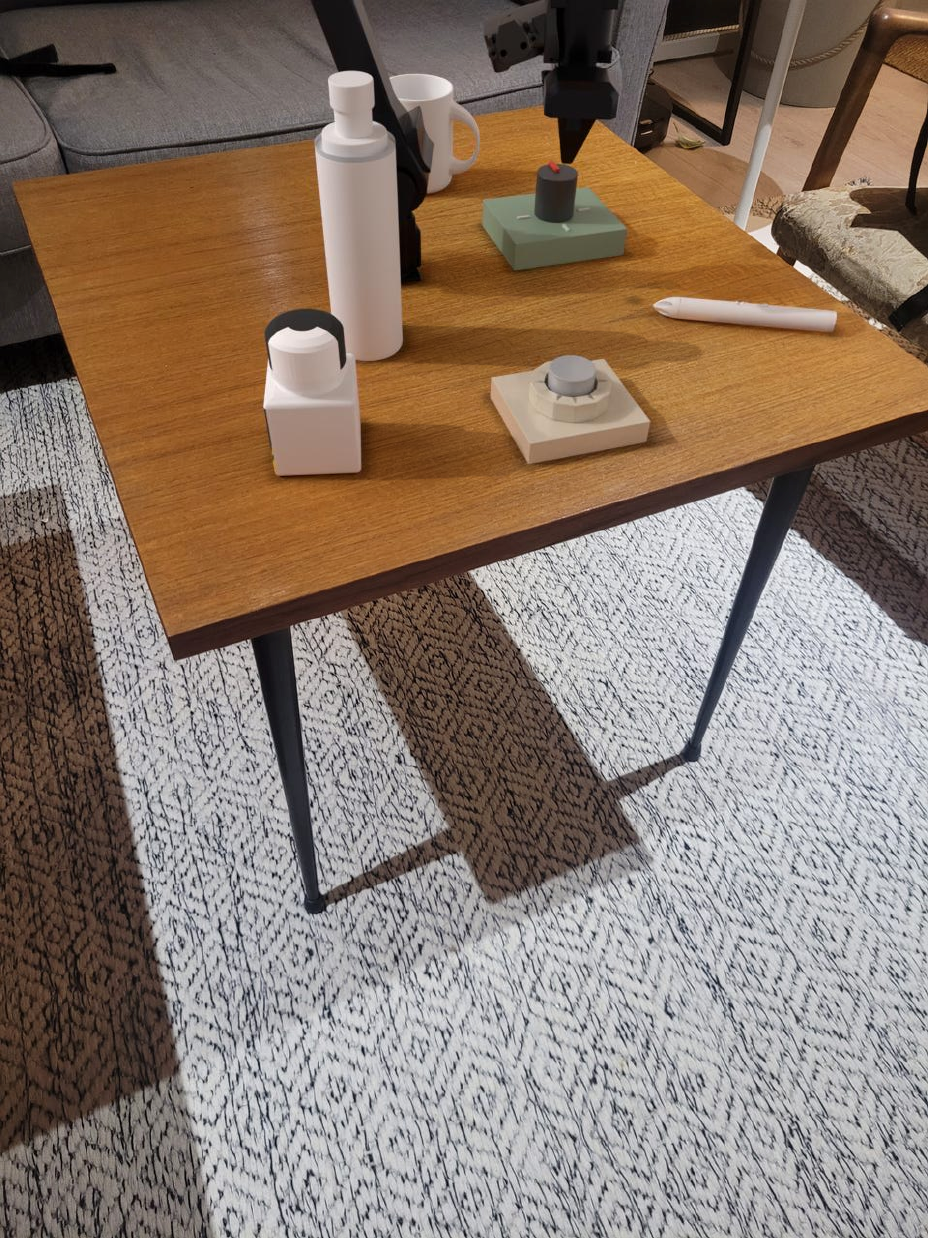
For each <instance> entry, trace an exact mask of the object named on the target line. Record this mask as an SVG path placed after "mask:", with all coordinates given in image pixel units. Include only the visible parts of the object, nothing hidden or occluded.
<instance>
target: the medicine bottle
mask: <svg viewBox="0 0 928 1238" xmlns="http://www.w3.org/2000/svg"><path fill="white" fill-rule="evenodd" d="M263 336H264V341H265V346H266V352H267V367H266V377H265V385H264V396H263V406H262V407H263V414H264V419H265V424H266V428H267V429H266V430H267V436H268V441H269V447H270V452H271V458H272V464H273V470H274V473H275V475H276V476H279V477H282V476H285V477H286V476H305V475H307V476H308V475H329V474H331V475H332V474H354V473H359V472H361V471H362V430H361V429H362V428H361V426H362V425H361V411H360V400H359V387H358V374H357V363H356V362H357V360H355V356H354V355H353V354H352V353H346V347H345V336H344V327H343V325H342V323H341V322H340V321H339V320H338V319H337V318H336V317H335V316H333V315H332V314H331V312H328V311H326V310H321V309H317V308H297V309H292V310H287V311H285V312H283V313H282V312H281V313H280V314H278V315H276V316H275V317H273V318H272V319H271V320H270V321H269V323H268V324H267V326H266V327H265V329H264V335H263Z"/></svg>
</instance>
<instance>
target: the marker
mask: <svg viewBox="0 0 928 1238" xmlns="http://www.w3.org/2000/svg"><path fill="white" fill-rule="evenodd" d="M652 307H653V308H654V309H655V310H656V312H658V313H660V314H662V315H663V316H666V317H668V318H672V319H679V320H689V321H699V322H711V323H722V324H732V325H741V326H742V325H744V326H755V327H765V328H776V329H787V330H797V331H807V332H808V331H809V332H820V333H833V331H834V330H835V327H836V323H837V319H838V313H837V311H834V310H829V309H818V308H808V307H799V306H785V305H774V304H769V303H763V302H762V303H750V302H748V301H746V302H745V301H741V302H740V301H738V300H736V301H729V300H721V299H720V300H719V299H717V300H716V299H706V298H697V297H684V296H671V297H670V296H669V297H666V298H662V299H661V300H659V301H657V302H655V303H654V304H653V305H652Z"/></svg>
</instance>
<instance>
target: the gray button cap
mask: <svg viewBox="0 0 928 1238" xmlns="http://www.w3.org/2000/svg"><path fill="white" fill-rule="evenodd" d="M551 361H552V362H551V363H550V366H549V375H548V387H549V389H550V390H551V391H553V392H555V393H556V394H558V395H560V396H567V397H579V396H585V395H589V394H590V393H591V392H592V391H593V389H594V383H595V376H596V367H595V365H594V364H593V363H592V362H591V361H592V360H590V359H588V358H586V357H584V356H580V355H573V354H566V355H561V356H558V357H555V358H554V359H553V360H551Z"/></svg>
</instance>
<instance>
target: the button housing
mask: <svg viewBox="0 0 928 1238" xmlns="http://www.w3.org/2000/svg"><path fill="white" fill-rule="evenodd" d="M552 361H553V360H549V361H545V362H544V363H542V364H541V365H539V366H537V367H536V368H534V369H533V370H528V371H523V372H521V371H520V372H516V373H510V374H504V375H498V376H492V377H491V379H490V399H491V402H492V403H493V405H494V407H495V408H496V410H497V412H498V414H499V416H500V417H501V419H502V421H503V422H504V424H505V426H506V428H507V429H508V432H509V433H510V435H511V437H512V439H513V440H514V441H515V443H516V446H517V447H518V449H519V451H520V452H521V454H522V456H523V457H524V460H525V461H526V463H527V465H531V464H537V463H538V464H539V463H543V462H548V461H552V460H553V461H554V460H557V459H558V460H559V459H564V458H570V457H574V456H579V455H584V454H591V453H596V452H600V451H605V450H610V449H615V448H621V447H626V446H632V445H637V444H642V443H647V440H648V434H649V431H650V425H651V420H650V419H649V417H648V416H647V415H646V413H645V412H644V411H643V410H642V408H641V406H640V405H639V404H638V402H637V401H636V400H635V399H634V397H633V395H632V394H631V393H630V391H629V390H628V389H627V388H626V386H625V385H624V384H623V382H622V381H621V380H620V378H619V377H618V376H617V373H616V372H615V371H614V370H613V369H612V367H611V366H610V365H609V363H608V362H607V360H605V358H600V359H593V360H590V361H591V362H592V363H593V364H594V365H595V367H596V376H595V383H594V389H593V391H592V392H591V393H590V394H589V395H585V396H579V397H567V396H560V395H558V394H556V393H555V392H553V391H551V390H550V389H549V387H548V375H549V366H550V363H551V362H552Z"/></svg>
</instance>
